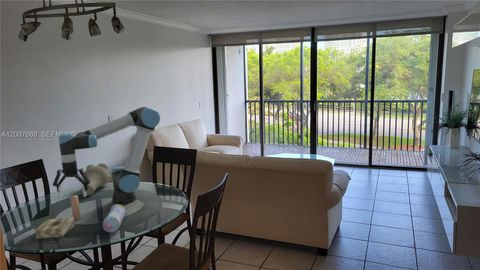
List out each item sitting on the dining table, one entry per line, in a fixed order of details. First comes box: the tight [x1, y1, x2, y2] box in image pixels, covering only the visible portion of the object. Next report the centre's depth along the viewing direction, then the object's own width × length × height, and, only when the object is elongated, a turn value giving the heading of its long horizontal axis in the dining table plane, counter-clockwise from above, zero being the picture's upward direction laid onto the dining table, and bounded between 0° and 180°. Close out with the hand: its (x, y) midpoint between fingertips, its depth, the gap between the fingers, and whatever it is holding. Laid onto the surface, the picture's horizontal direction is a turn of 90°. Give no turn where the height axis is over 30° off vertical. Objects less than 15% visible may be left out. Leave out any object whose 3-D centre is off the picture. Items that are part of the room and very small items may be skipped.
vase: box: [81, 162, 112, 196], centre depth 248 cm, size 22×22×28 cm
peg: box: [70, 195, 82, 222], centre depth 199 cm, size 4×4×14 cm
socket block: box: [34, 217, 76, 239], centre depth 185 cm, size 14×14×4 cm
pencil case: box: [102, 204, 127, 234], centre depth 189 cm, size 21×9×10 cm, turn 9°
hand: (73, 196), depth 198 cm, fingers open, 13 cm apart
